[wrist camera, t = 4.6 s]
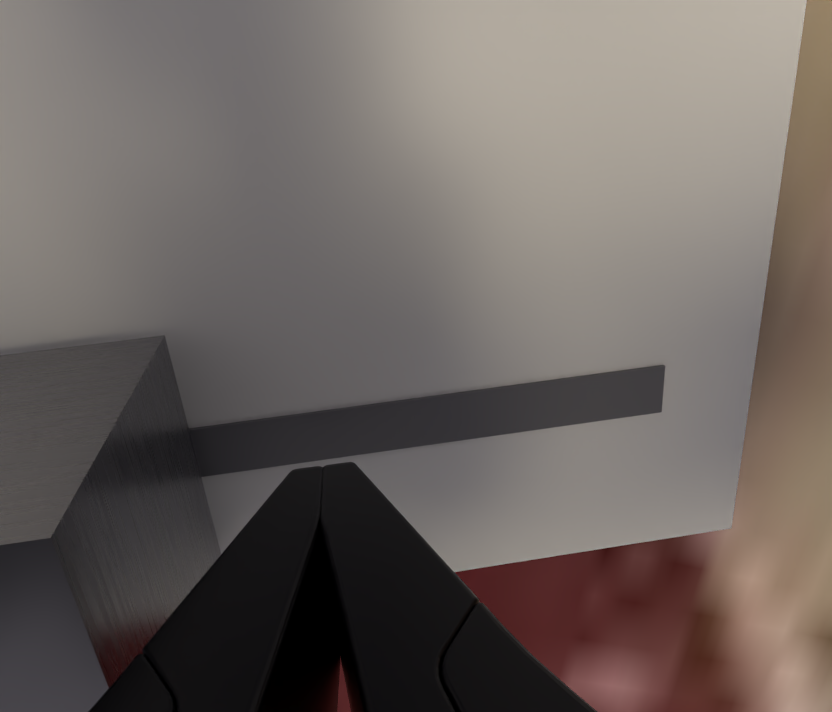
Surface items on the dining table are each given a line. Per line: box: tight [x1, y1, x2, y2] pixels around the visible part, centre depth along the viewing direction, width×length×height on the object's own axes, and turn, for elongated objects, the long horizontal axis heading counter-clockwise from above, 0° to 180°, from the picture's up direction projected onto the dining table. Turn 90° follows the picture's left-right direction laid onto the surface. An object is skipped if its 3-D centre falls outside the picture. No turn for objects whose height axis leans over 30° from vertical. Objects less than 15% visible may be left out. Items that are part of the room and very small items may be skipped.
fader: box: [0, 335, 221, 712], centre depth 7 cm, size 4×3×4 cm
